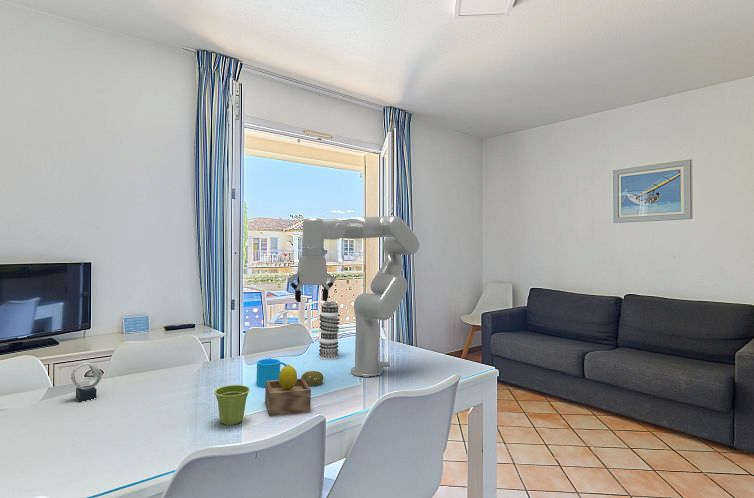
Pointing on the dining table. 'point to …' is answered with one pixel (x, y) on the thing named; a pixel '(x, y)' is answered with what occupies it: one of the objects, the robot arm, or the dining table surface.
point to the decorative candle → (329, 331)
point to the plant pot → (231, 403)
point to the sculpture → (313, 378)
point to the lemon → (287, 377)
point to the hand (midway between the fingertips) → (311, 301)
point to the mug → (267, 371)
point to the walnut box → (287, 398)
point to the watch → (86, 391)
